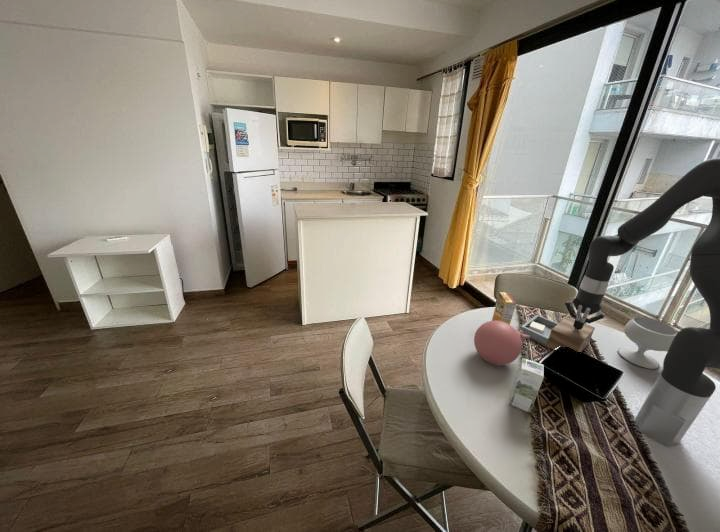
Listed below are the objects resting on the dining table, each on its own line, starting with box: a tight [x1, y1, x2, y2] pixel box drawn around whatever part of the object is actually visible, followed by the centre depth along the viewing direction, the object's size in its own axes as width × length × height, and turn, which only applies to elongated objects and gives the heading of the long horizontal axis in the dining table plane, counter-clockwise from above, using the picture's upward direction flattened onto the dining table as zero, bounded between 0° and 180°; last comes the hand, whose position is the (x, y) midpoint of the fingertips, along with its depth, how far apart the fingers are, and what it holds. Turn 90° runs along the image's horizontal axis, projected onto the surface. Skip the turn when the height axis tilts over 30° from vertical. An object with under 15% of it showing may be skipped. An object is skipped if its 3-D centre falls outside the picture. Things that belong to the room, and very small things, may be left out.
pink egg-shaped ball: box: [473, 320, 530, 366], centre depth 104 cm, size 15×20×15 cm
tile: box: [529, 321, 545, 334], centre depth 123 cm, size 5×5×2 cm
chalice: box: [617, 316, 678, 370], centre depth 108 cm, size 14×14×15 cm
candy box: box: [491, 291, 517, 325], centre depth 123 cm, size 9×4×15 cm, turn 175°
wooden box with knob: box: [545, 316, 596, 353], centre depth 115 cm, size 16×10×8 cm, turn 129°
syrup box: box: [509, 357, 545, 414], centre depth 86 cm, size 6×6×14 cm
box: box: [519, 314, 559, 347], centre depth 123 cm, size 16×10×4 cm, turn 129°
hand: (577, 328), depth 112 cm, fingers closed
